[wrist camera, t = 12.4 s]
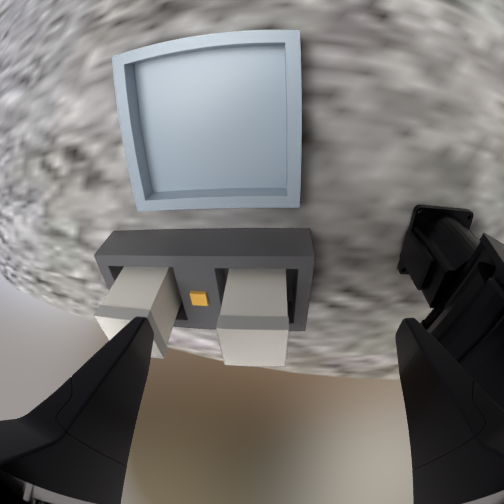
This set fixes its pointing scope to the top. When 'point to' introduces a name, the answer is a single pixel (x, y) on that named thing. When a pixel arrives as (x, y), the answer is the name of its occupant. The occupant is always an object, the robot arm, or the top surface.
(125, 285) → the plug
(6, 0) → the top surface
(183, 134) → the tray
